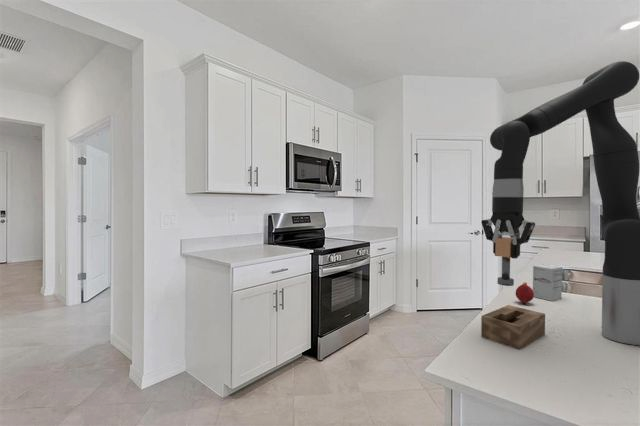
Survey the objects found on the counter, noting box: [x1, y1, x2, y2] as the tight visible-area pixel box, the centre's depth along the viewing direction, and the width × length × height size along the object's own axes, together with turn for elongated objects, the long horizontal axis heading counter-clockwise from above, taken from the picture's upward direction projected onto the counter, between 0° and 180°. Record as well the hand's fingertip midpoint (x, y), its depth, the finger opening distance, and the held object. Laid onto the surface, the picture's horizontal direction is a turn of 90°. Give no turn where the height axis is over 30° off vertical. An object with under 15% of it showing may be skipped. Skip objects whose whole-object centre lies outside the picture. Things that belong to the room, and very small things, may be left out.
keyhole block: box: [480, 304, 546, 350], centre depth 93 cm, size 10×16×6 cm, turn 126°
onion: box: [515, 281, 535, 305], centre depth 122 cm, size 6×6×8 cm
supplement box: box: [532, 263, 563, 302], centre depth 129 cm, size 7×7×13 cm
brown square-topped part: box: [494, 236, 515, 287], centre depth 92 cm, size 4×4×13 cm
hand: (506, 256), depth 92 cm, fingers closed on brown square-topped part, 4 cm apart
